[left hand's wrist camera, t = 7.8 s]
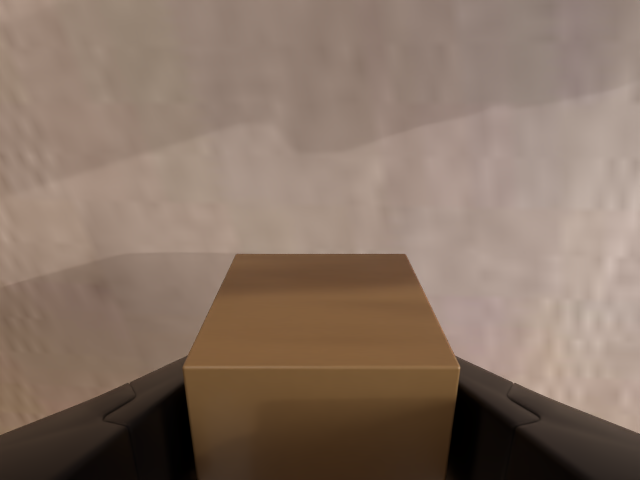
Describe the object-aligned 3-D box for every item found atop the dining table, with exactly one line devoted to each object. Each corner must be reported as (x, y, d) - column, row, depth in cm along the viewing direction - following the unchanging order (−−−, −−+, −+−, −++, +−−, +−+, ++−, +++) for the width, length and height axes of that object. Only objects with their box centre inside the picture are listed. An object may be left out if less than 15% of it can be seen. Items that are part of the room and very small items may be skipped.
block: (235, 252, 12) (181, 367, 7) (406, 253, 12) (462, 367, 7) (246, 403, 14) (208, 573, 9) (395, 403, 14) (434, 573, 9)
